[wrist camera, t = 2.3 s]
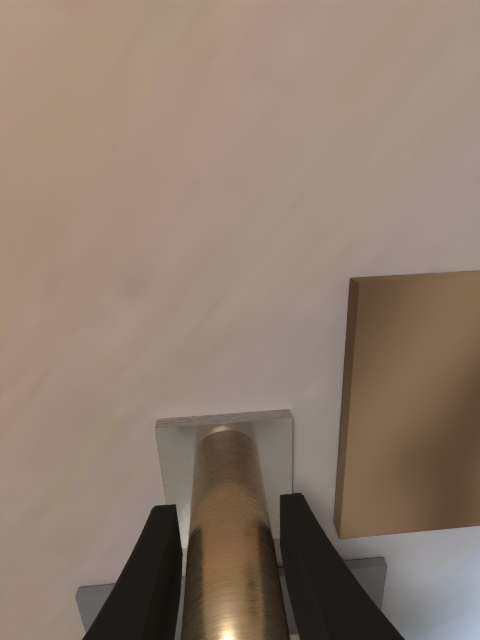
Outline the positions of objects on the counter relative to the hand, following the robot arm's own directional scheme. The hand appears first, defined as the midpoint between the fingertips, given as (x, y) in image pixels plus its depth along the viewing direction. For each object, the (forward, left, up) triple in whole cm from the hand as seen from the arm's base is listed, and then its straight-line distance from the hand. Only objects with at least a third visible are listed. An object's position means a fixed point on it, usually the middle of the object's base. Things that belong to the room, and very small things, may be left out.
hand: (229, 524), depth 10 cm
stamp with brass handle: (0, +1, -4) cm, 4 cm away
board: (-10, -1, -3) cm, 11 cm away
